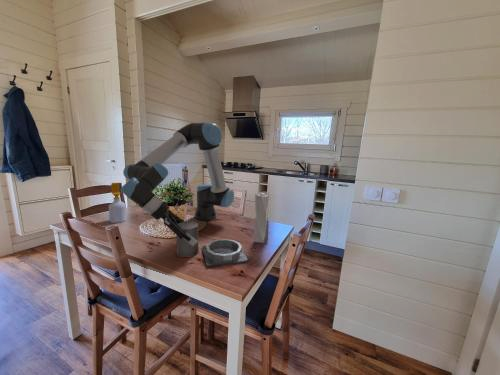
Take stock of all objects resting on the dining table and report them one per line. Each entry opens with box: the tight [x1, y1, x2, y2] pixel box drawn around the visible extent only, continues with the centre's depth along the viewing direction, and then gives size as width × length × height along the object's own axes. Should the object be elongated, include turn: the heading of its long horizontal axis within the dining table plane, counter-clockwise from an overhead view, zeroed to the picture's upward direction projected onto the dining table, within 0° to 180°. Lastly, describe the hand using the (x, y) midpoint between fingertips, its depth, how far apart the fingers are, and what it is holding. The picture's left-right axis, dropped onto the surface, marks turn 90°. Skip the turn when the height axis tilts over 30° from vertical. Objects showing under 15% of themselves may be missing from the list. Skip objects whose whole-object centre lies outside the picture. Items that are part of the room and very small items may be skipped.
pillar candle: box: [175, 220, 199, 258], centre depth 98 cm, size 10×10×15 cm
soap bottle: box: [108, 182, 127, 224], centre depth 131 cm, size 9×9×25 cm
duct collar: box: [201, 238, 249, 269], centre depth 98 cm, size 18×18×4 cm
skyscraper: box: [253, 191, 270, 245], centre depth 112 cm, size 8×8×28 cm
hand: (194, 238), depth 99 cm, fingers closed on pillar candle, 9 cm apart
